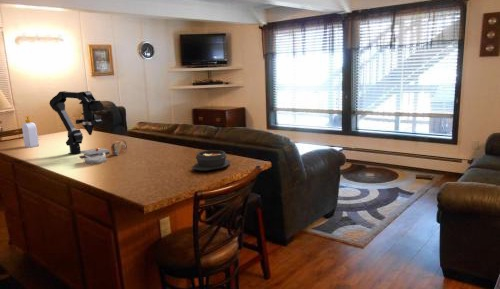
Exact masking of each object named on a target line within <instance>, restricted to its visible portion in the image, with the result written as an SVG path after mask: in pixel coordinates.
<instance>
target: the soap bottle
mask: <svg viewBox="0 0 500 289" xmlns="http://www.w3.org/2000/svg"><path fill="white" fill-rule="evenodd" d="M31 117H34V115H31ZM25 118H26V119H25V122H24V123H22V126H21V129H22V136H23V143H24V147H26V148H35V147H39V146H40V143H39V136H38V129H37V125H36V124H35V123H34V122H32V119H30V115H26V116H25Z"/></svg>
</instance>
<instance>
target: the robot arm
mask: <svg viewBox="0 0 500 289" xmlns="http://www.w3.org/2000/svg"><path fill="white" fill-rule="evenodd" d="M67 99H77V100H79V101H80V102H79V103H78V104H79V105H81V106H82V112H81V115H83V116H82V117H83V118H79V119H76V120H75V124H76V125H80V124H81V125H82V127H83V128H84V129H85V130H86V132H87V134H88V136H91V135H92V134H93V130H94V127H95V126H98V125H103V120H102V119H101V118H102V116H101V115H98V114H95V112H103V110H104V105H103V103H102V102H101V100H97V99H96V98H95V96H94V94H93V93H92V92H91V91H89V90H87V91H86V90H85V91H79V92H78V91H76V92H75V91H67V90H64V91H59V92H58V93H57V94H56V95H54V96H53V97H52V98H50V101H49V107H50V108H51V109H52V110H53V111H55V113H57V115H58V116H59V118H60V120H61V121H62V124H63V125H64V127H65V129H66V131H67V140H66V142H65V144H66V146H69V152H68V155H79V154H82V153H81V151H82V150H81V146H80V144H83V140H84V136H83V133H82V131H81V129H77V128H76V127H75V125H74V123H73V122H72V120H71V118H70V117H69V114H68V113H67V111H66V104H65V103H66V101H67Z"/></svg>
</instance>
